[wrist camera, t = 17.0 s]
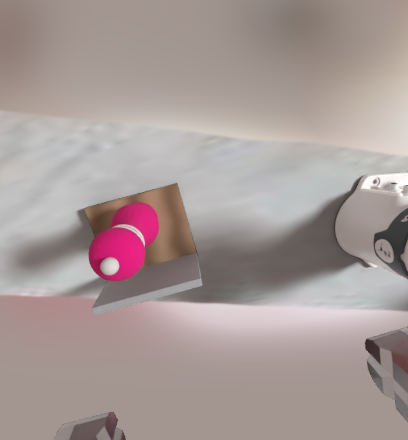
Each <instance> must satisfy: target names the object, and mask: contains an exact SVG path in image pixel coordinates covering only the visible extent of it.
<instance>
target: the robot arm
mask: <svg viewBox="0 0 408 440" xmlns="http://www.w3.org/2000/svg"><path fill="white" fill-rule="evenodd" d="M373 180H374V183H373ZM335 233H336V238H337V241H338V243H339V245H340V246H341V247H342V249H343V250H344V251H346V252H347V253H349V254H350V255H353V256H356V257H359V258H361V259H363V260H364V261H365V263H367V264H368V265H369V266H372V267H374V268H376V267H381V268H384V269H386V270H388V271H391V272H393V273H396V274H398V275H401V276H404V278H406V279H408V172H403V173H388V174H374V175H365V176H363V177H362V178H361V180H360V181H359V183H358V185H357V188H356V190H355V191H354V193H353V194H352V195H351V196H350V197H349V198H348V199H347V200H346V201H345V202H344V204H343V205H342V207H341V209H340V210H339V213H338V215H337V218H336V223H335ZM365 348H366V350H367V351H368V352H369V353H370V356H369V358H368V359H367V365H368V370H369V373H370V375H371V377H372V379H373V381H374V382H375V384H376V385H377V387H378V388H379V389H380V391H381V392H382V393H383V394H384V395H386V396H388V397H390V398H392V399H394V400H395V405H396V409H397V410H398V412H399V413H400V414H401V415H402V416H403V418H404V419H405V420H406V421H407V422H408V327H405V328H402V329H398V330H394V331H391V332H388V333H384V334H381V335H378V336H374V337H371V338H368V339H366V341H365ZM117 421H118V419H117V418H116V415H115V414H114V412H109V413H105V414H101V415H97V416H93V417H89V418H85V419H81V420H79V421H74V422H71V423H67V424H63V425H62V426H61V427H60V429H59V430H58V431H57V434H56V436H55V438H54V440H126V438H125V435H124V433H123V430H121V429H119V428H117V427H116V425H117Z"/></svg>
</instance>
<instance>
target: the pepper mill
mask: <svg viewBox="0 0 408 440" xmlns="http://www.w3.org/2000/svg"><path fill="white" fill-rule="evenodd" d="M158 232H159V221H158V216H157V213H156V211H155V210H154V209H153V208H152V207H151V206H150V205H148V204H146V203H143V202H135V203H132V204H128V205H125V206H123V207H121V208H120V209H119V210H118V211H117V212H116V213H115V215H114V216H113V218H112V221H111V228H110V229H107V230H104V231H103V232H101V233H100V234H98V235H97V237H96V238H95V239H94V240H93V242H92V243H91V246H90V248H89V262H90V265H91V267H92V269H93V270H94V271H95V273H96V274H97V275H99V276H100V277H102V278H103V279H106V280H109V281H123V280H126V279H128V278H130V277H132V276H133V275H135V274H136V273H137V272H138V271H139V270H140V268H141V267H142V265H143V263H144V259H145V248H146V247H148V246H149V245H150V244H152V243H153V241H154V240H155V238H156V237H157V235H158Z"/></svg>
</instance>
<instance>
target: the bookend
mask: <svg viewBox="0 0 408 440" xmlns="http://www.w3.org/2000/svg"><path fill="white" fill-rule="evenodd" d="M135 202H143V203H146V204H148V205H150V206H151V207H152V208H153V209H154V210H155V211H156V213H157V216H158V221H159V232H158V235H157V237H156V238H155V240H154V241H153V243H152V244H150V245H149V246H148V247H146V248H145V259H144V263H143V265H142V267H141V268H140V270H139V271H138V272H137V273H136V274H135V275H133V276H132V277H130V278H128V279H126V280H123V281H109V280H108V281H107V283H106V285H105V287H104V288H103V290H102V292H101V293H100V295H99V297H98V298H97V300H96V302H95V304H94V306H93V307H92V310H93V312H94V315H98V314H102V313H105V312H109V311H113V310H116V309H120V308H123V307H127V306H131V305H134V304H138V303H142V302H145V301H149V300H153V299H156V298H160V297H163V296H167V295H171V294H174V293H178V292H182V291H185V290H189V289H192V288H196V287H200V286H202V280H201V273H200V267H199V261H198V255H197V251H196V248H195V244H194V241H193V237H192V234H191V230H190V227H189V223H188V219H187V216H186V212H185V209H184V205H183V202H182V198H181V195H180V191H179V188H178V184H177V183H175V184H172V185H168V186H164V187H161V188H157V189H153V190H149V191H146V192H142V193H138V194H134V195H131V196H127V197H123V198H119V199H116V200H112V201H108V202H104V203H101V204H97V205H93V206H89V207H87V208H85V212H86V215H87V217H88V220H89V222H90V225H91V227H92V230H93V233H94V235H95V238H96V237H97V235H98V234H100V233H101V232H103V231H104V230H107V229H110V228H111V221H112V218H113V216H114V215H115V213H116V212H117V211H118V210H119V209H120V208H121V207H123V206H125V205H128V204H132V203H135Z"/></svg>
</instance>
